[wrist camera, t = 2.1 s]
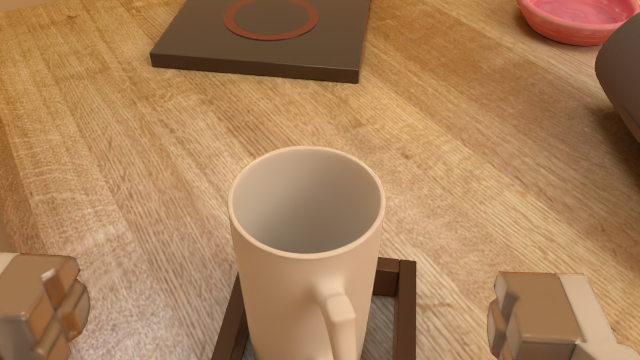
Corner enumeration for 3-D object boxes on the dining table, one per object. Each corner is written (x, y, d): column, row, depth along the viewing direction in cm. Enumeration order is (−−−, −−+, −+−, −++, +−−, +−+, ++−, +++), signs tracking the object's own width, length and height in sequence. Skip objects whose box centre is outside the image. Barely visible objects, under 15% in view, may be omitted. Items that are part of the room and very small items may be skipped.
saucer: (651, 28, 60) (664, 0, 58) (593, 67, 54) (605, 38, 52) (550, -10, 67) (558, -35, 65) (488, 22, 61) (495, -6, 59)
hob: (152, 66, 53) (148, 52, 52) (205, -12, 67) (203, -25, 65) (358, 83, 52) (359, 68, 51) (371, -1, 65) (372, -14, 64)
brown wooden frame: (188, 482, 26) (179, 462, 25) (249, 267, 36) (246, 241, 34) (408, 515, 25) (414, 497, 24) (411, 285, 35) (416, 260, 33)
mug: (240, 308, 33) (217, 157, 25) (346, 285, 35) (357, 135, 27) (274, 482, 26) (257, 351, 18) (405, 444, 28) (445, 307, 20)
